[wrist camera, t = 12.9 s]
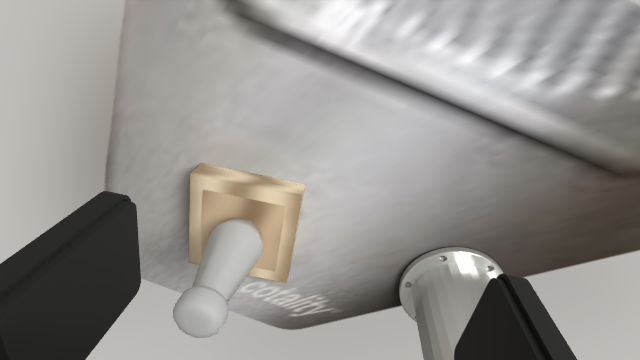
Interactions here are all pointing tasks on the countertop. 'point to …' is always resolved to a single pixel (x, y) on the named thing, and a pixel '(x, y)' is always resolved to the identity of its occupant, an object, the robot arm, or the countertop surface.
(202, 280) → the salt shaker
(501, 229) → the countertop surface
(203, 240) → the base board
